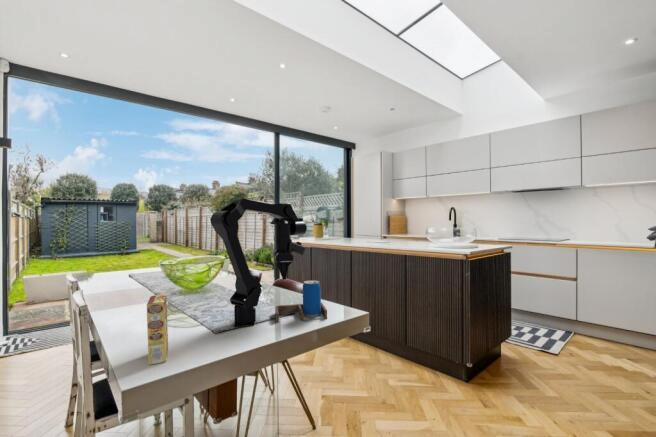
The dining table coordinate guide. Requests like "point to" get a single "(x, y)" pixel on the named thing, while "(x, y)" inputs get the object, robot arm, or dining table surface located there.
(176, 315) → the dining table surface
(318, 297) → the beverage can
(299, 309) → the slot rack
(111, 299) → the dining table surface
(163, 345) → the candy box
